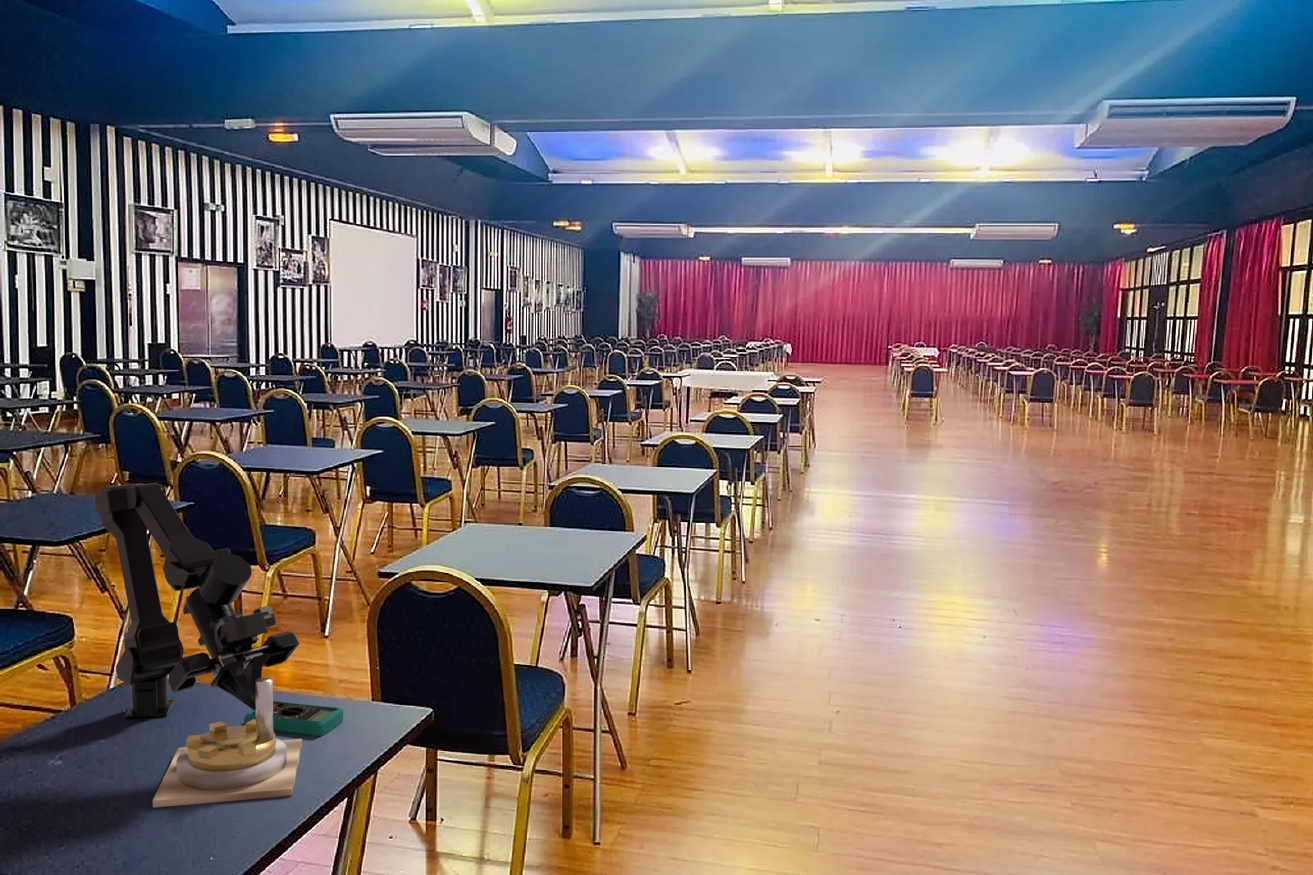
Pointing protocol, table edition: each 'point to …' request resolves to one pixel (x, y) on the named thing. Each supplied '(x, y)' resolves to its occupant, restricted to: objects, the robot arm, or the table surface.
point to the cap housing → (230, 779)
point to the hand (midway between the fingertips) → (259, 708)
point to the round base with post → (237, 738)
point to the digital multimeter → (302, 718)
